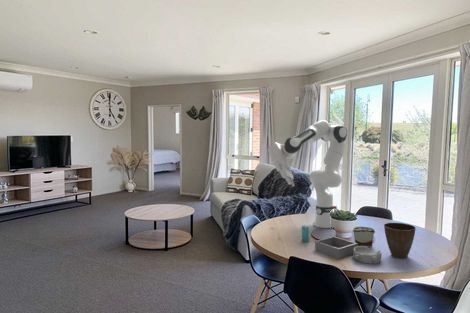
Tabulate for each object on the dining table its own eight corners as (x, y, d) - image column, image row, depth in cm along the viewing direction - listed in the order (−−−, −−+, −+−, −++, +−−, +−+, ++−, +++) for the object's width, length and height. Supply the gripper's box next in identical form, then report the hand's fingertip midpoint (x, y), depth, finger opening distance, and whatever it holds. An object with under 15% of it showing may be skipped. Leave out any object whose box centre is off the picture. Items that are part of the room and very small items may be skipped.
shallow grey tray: (333, 244, 194) (333, 236, 193) (357, 252, 181) (357, 243, 180) (315, 250, 185) (315, 241, 184) (338, 258, 172) (338, 249, 171)
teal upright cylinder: (305, 239, 203) (305, 225, 203) (310, 241, 200) (310, 226, 199) (300, 240, 201) (300, 226, 200) (305, 242, 197) (305, 228, 197)
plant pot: (378, 256, 175) (379, 226, 174) (389, 248, 185) (390, 220, 184) (409, 263, 164) (410, 232, 163) (418, 255, 175) (419, 226, 173)
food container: (371, 243, 195) (371, 226, 195) (374, 246, 189) (375, 229, 188) (350, 242, 196) (350, 226, 196) (352, 246, 190) (352, 229, 190)
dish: (358, 252, 180) (358, 243, 180) (384, 258, 172) (385, 249, 171) (348, 260, 169) (348, 251, 169) (376, 267, 160) (376, 257, 160)
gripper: (282, 160, 203) (292, 180, 198) (290, 166, 221) (299, 184, 217) (273, 165, 204) (283, 185, 200) (281, 170, 223) (290, 188, 218)
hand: (291, 184), depth 208 cm, fingers open, 8 cm apart
